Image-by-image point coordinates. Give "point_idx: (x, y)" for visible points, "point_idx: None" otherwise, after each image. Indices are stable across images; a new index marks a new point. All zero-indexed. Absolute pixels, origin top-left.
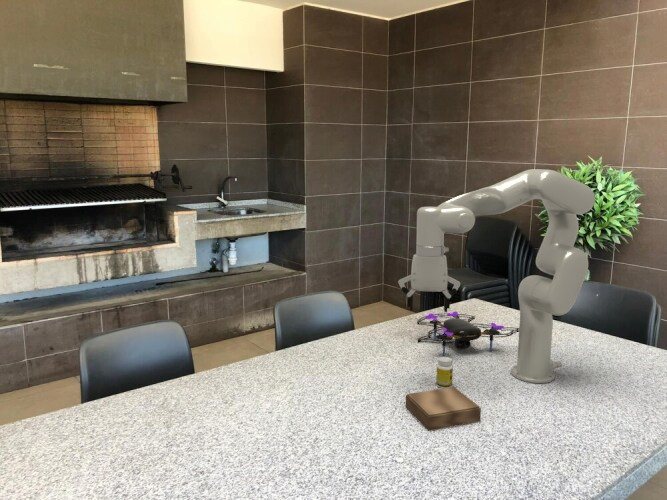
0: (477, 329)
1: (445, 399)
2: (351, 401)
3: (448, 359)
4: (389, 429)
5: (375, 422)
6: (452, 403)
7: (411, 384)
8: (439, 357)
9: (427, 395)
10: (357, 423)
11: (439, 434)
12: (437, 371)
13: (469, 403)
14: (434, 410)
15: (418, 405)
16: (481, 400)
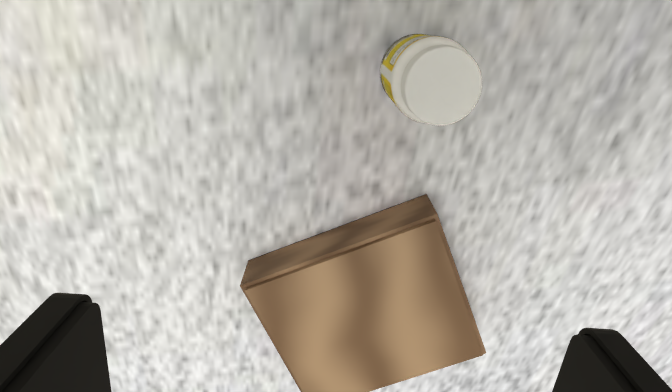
0: None
1: (380, 318)
2: (54, 232)
3: (461, 94)
4: (205, 377)
5: (161, 348)
6: (398, 342)
7: (272, 67)
8: (415, 62)
9: (319, 296)
10: (110, 356)
11: None
12: (390, 92)
13: (456, 338)
14: (331, 386)
15: (283, 355)
16: (526, 192)
